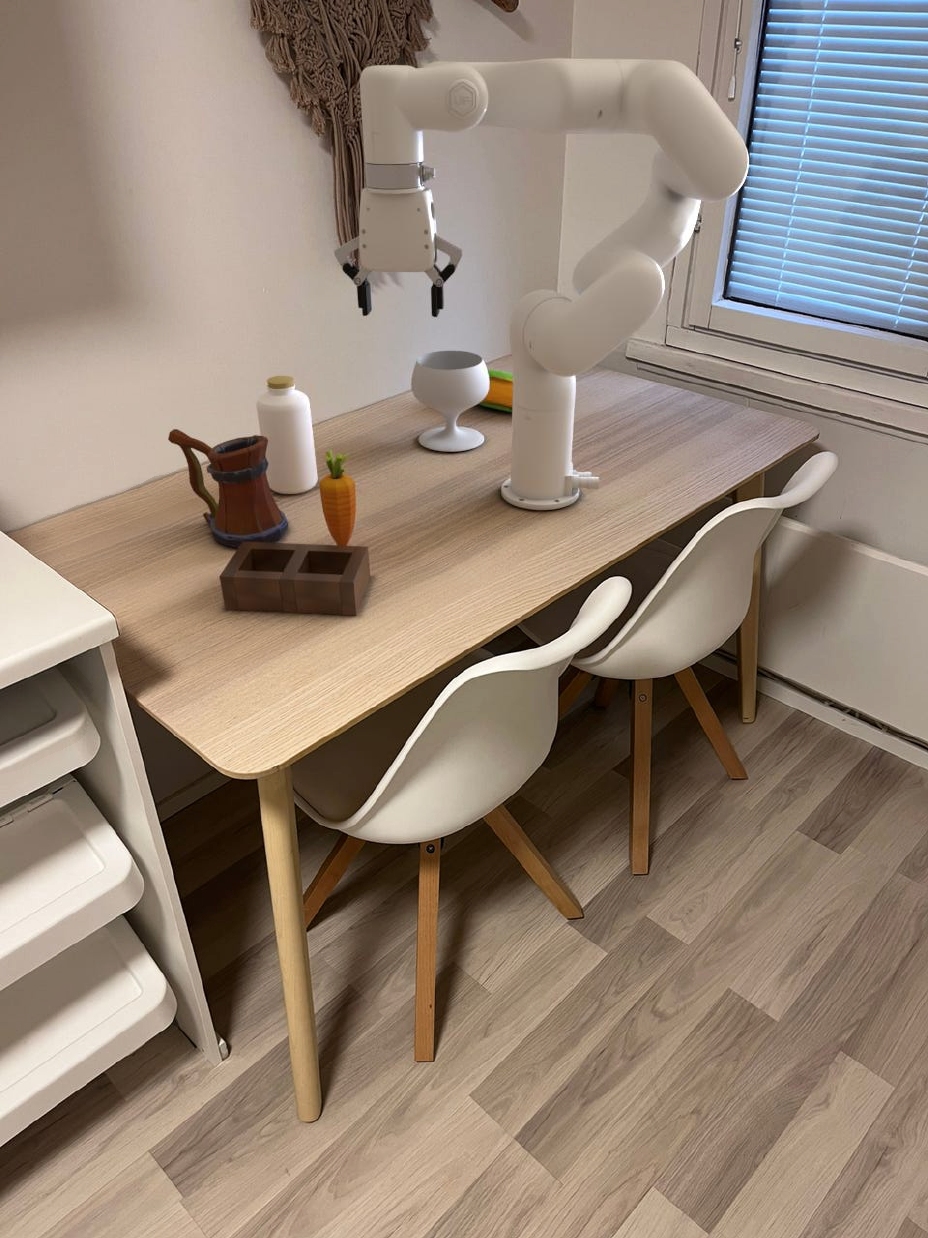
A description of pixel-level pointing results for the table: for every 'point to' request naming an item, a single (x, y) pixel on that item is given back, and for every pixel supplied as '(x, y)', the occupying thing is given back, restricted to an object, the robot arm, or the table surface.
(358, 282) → the robot arm
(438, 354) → the chalice
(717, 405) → the table surface
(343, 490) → the carrot
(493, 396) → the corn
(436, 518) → the table surface
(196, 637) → the table surface
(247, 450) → the mug
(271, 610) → the holder
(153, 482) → the table surface
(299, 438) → the white bottle
